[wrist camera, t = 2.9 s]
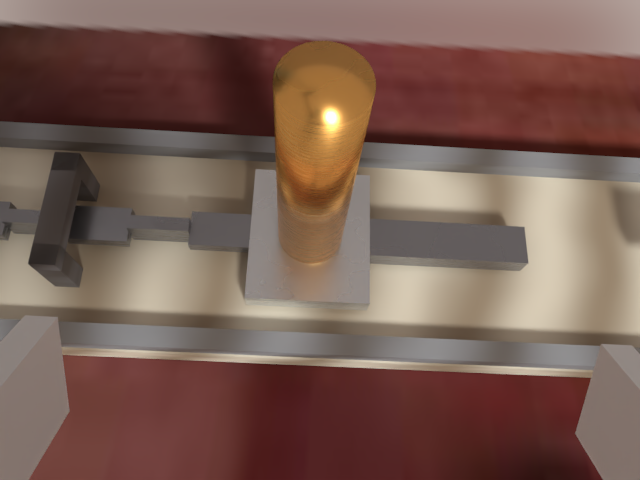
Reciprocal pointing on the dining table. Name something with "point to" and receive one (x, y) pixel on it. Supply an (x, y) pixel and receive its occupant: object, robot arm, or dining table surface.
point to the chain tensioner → (307, 202)
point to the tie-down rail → (385, 280)
